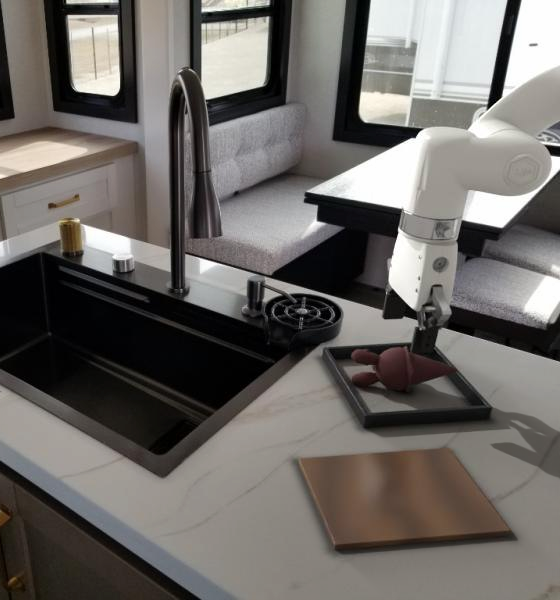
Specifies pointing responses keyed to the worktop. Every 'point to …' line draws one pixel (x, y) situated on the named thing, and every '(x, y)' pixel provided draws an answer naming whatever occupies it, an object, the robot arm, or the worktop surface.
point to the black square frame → (408, 417)
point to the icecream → (398, 368)
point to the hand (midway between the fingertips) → (406, 334)
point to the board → (398, 499)
